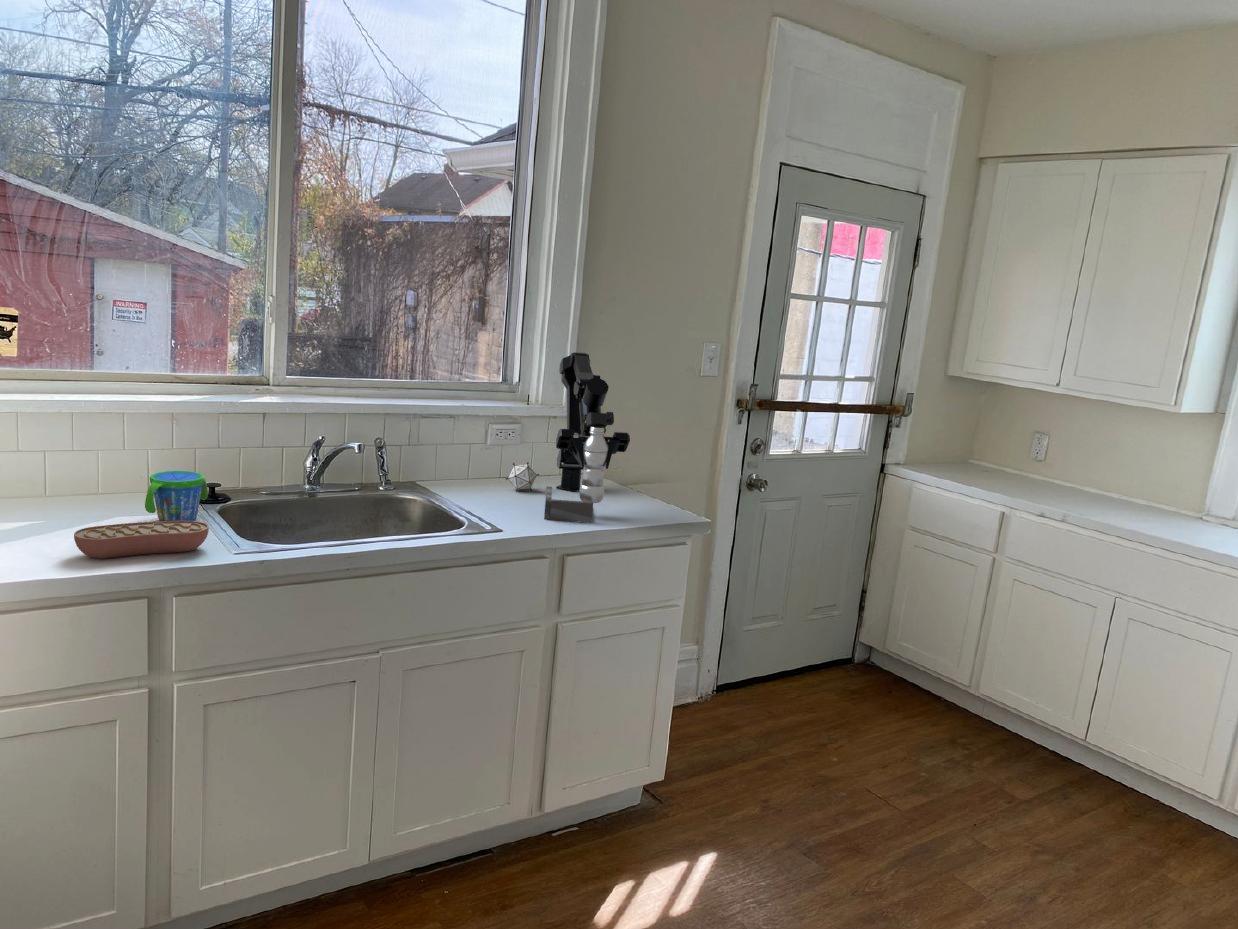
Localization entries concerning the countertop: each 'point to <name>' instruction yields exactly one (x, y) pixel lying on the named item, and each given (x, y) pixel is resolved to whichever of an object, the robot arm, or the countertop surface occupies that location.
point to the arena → (567, 509)
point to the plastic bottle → (594, 466)
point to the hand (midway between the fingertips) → (595, 467)
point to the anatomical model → (140, 538)
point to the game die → (522, 476)
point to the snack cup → (176, 495)
